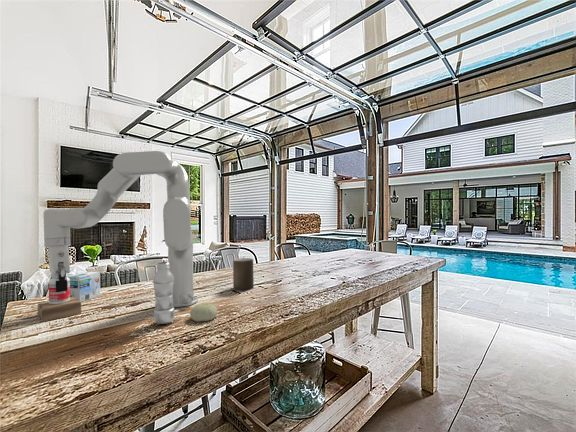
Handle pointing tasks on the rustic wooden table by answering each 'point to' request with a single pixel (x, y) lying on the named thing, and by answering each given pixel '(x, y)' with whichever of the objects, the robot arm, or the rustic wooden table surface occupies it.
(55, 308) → the walnut base
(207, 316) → the sea urchin shell
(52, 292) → the pill bottle
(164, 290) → the plastic bottle
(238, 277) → the pillar candle
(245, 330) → the rustic wooden table surface
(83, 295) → the light bulb box
